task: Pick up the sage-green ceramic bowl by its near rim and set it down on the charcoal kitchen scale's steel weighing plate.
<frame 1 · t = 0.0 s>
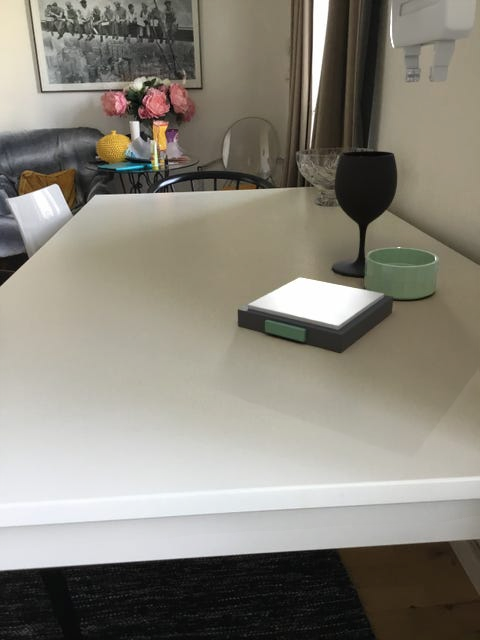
hand: (423, 82, 77), 31 cm above the table, tool pointing down, fingers open, 8 cm apart
wine glass: (360, 269, 102), on the table
bowl: (399, 289, 91), on the table
scale: (316, 319, 81), on the table
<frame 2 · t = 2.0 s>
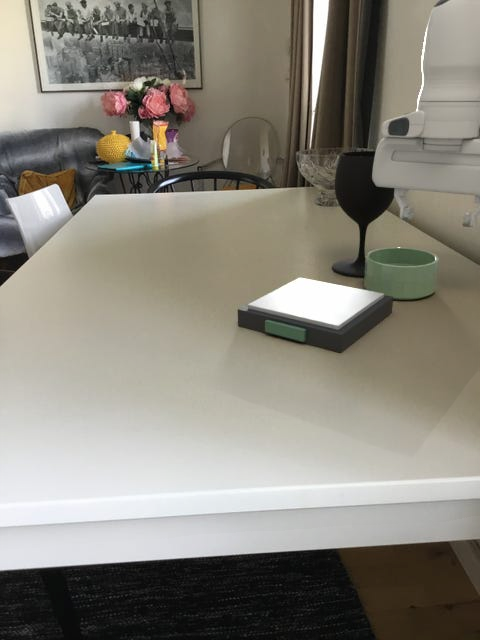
hand: (436, 222, 84), 12 cm above the table, tool pointing down, fingers open, 8 cm apart
nothing on the table moved.
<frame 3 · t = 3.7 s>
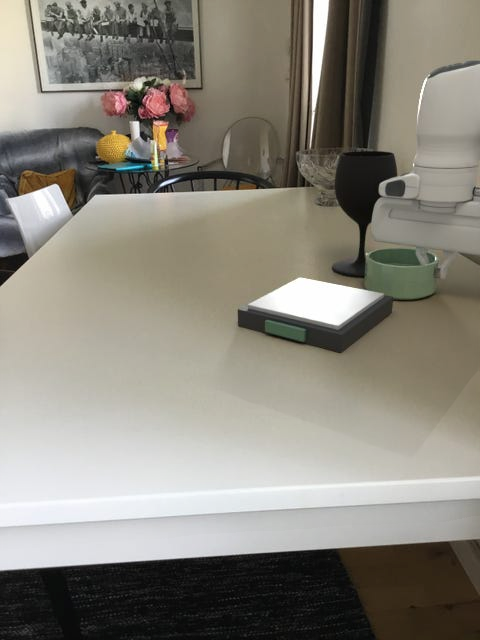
hand: (433, 276, 87), 3 cm above the table, tool pointing down, fingers closed on bowl
bowl: (399, 289, 91), on the table, touching gripper
everything else where it was.
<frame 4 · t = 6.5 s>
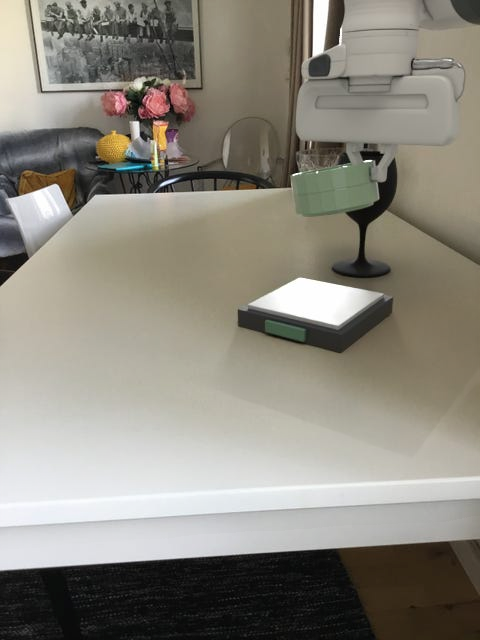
hand: (369, 180, 72), 19 cm above the table, tool pointing down, fingers closed on bowl
bowl: (337, 209, 76), point 15 cm above the table, tilted 11°, touching gripper
everything else where it was.
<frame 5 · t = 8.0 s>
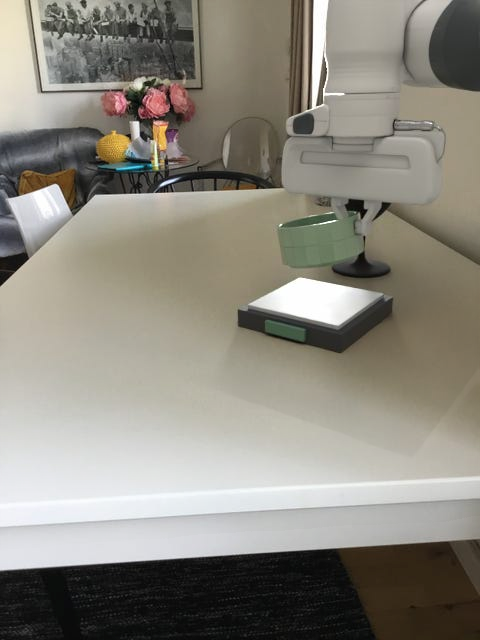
hand: (354, 233, 73), 13 cm above the table, tool pointing down, fingers closed on bowl
bowl: (323, 259, 77), point 9 cm above the table, tilted 12°, touching gripper
everything else where it was.
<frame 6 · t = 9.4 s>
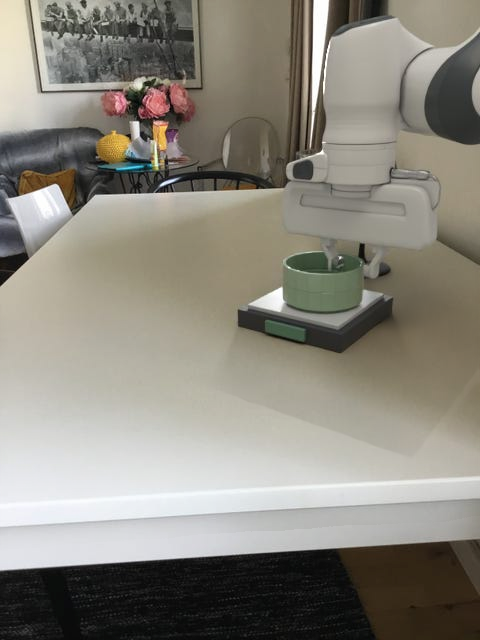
hand: (352, 273, 75), 8 cm above the table, tool pointing down, fingers open, 4 cm apart
bowl: (322, 300, 79), point 3 cm above the table, touching scale
everything else where it was.
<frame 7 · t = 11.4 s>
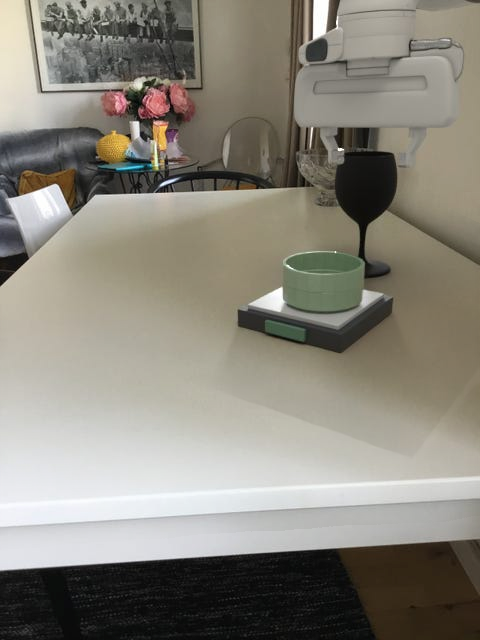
hand: (369, 165, 71), 21 cm above the table, tool pointing down, fingers open, 8 cm apart
nothing on the table moved.
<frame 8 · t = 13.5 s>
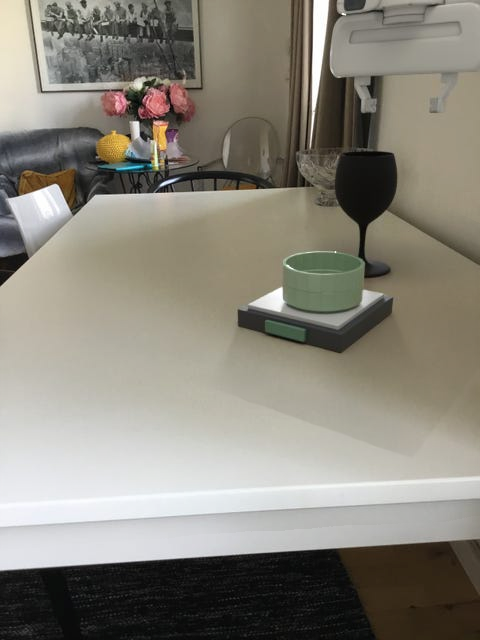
hand: (401, 112, 75), 27 cm above the table, tool pointing down, fingers open, 8 cm apart
nothing on the table moved.
at the end: bowl inside the target area on the scale (0.8 cm from its centre), point 3.1 cm above the scale's base; bowl tilted 0°; the gripper is holding nothing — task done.
